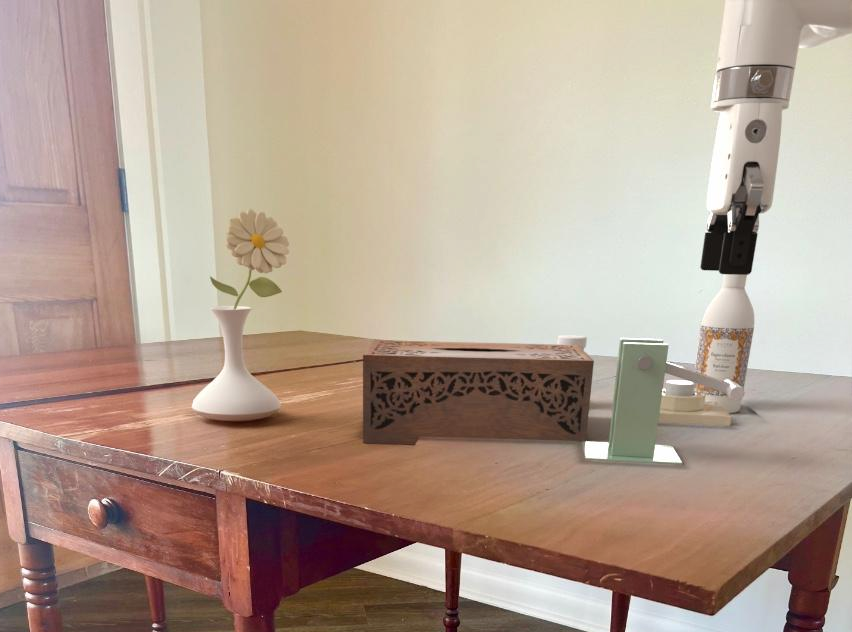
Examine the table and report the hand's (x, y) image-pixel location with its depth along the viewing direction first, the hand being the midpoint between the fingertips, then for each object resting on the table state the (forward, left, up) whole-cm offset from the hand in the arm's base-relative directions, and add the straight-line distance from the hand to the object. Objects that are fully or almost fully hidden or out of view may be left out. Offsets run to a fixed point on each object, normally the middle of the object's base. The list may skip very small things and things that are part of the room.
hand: (724, 272), depth 95 cm
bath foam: (-6, -24, -20) cm, 32 cm away
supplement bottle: (+15, -22, -20) cm, 33 cm away
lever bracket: (+9, +10, -19) cm, 23 cm away
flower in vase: (+57, -3, -20) cm, 60 cm away
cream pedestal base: (+1, -13, -19) cm, 23 cm away
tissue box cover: (+27, -1, -20) cm, 33 cm away
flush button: (+1, -13, -16) cm, 21 cm away
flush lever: (+5, +10, -11) cm, 15 cm away
